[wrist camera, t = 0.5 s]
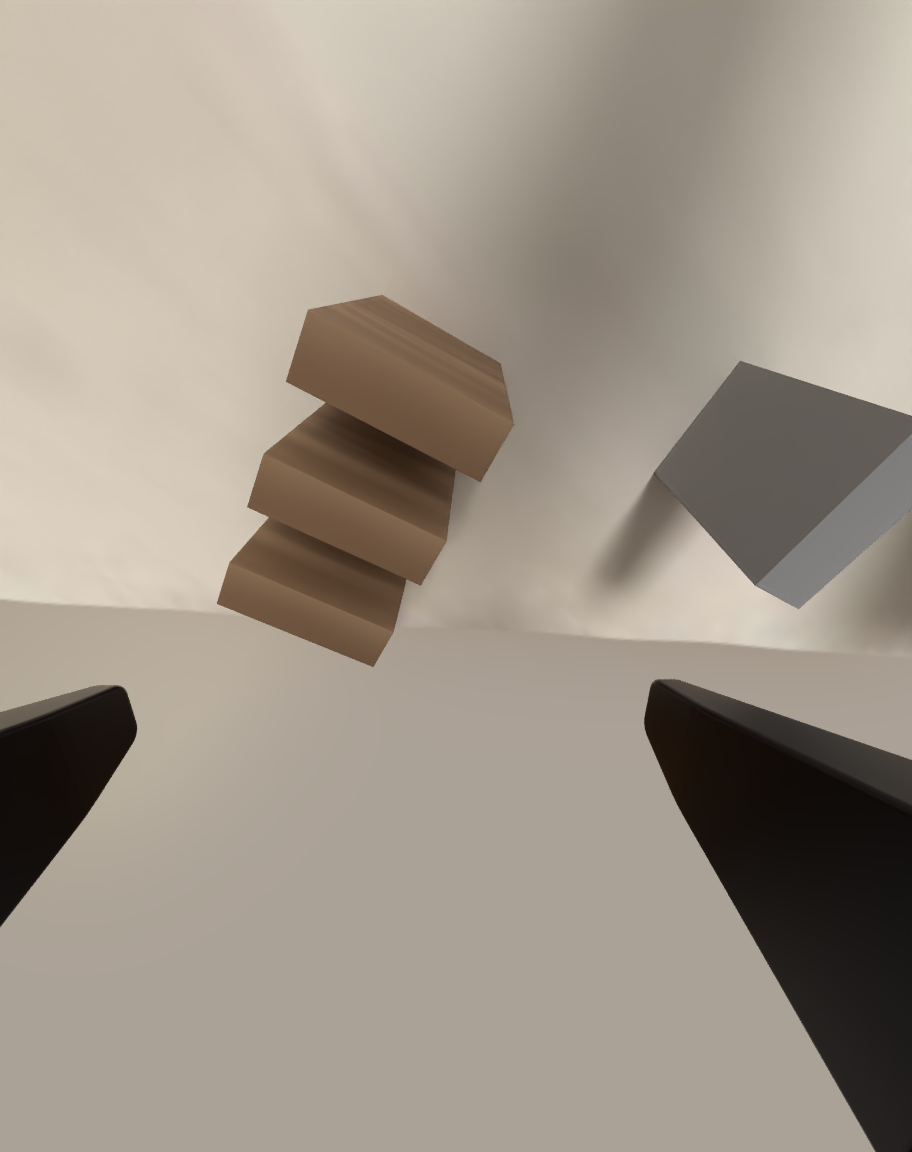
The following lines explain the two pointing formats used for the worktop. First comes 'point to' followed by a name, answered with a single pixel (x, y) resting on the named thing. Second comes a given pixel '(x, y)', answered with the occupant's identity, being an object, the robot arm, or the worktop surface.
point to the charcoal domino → (791, 477)
